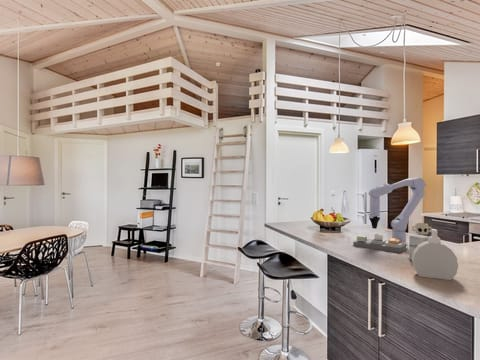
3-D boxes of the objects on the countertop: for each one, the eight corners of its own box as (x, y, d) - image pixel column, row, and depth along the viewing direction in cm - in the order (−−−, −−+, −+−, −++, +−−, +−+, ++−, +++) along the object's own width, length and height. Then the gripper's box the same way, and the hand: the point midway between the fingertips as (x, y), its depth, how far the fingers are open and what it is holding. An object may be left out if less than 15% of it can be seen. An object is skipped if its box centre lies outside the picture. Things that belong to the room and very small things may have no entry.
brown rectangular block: (393, 242, 180) (393, 237, 180) (402, 244, 177) (402, 239, 177) (388, 245, 173) (388, 240, 173) (397, 246, 170) (397, 241, 170)
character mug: (412, 244, 190) (413, 223, 190) (410, 242, 197) (411, 222, 197) (432, 245, 186) (433, 224, 186) (430, 243, 193) (430, 223, 193)
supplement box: (408, 259, 154) (408, 235, 154) (417, 257, 157) (418, 233, 157) (422, 263, 147) (422, 237, 147) (431, 261, 150) (432, 236, 150)
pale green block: (358, 239, 187) (358, 235, 187) (366, 240, 184) (366, 236, 184) (356, 240, 185) (356, 236, 185) (365, 241, 182) (365, 237, 182)
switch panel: (361, 242, 195) (361, 235, 195) (405, 248, 178) (405, 241, 178) (353, 245, 185) (353, 238, 185) (399, 252, 167) (399, 245, 167)
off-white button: (376, 238, 184) (376, 233, 184) (383, 239, 181) (383, 234, 181) (373, 239, 180) (373, 234, 180) (381, 240, 177) (381, 235, 177)
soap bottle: (454, 277, 126) (455, 230, 126) (458, 281, 121) (458, 232, 121) (411, 272, 132) (411, 227, 132) (413, 275, 127) (413, 229, 127)
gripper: (372, 205, 198) (371, 226, 198) (364, 207, 187) (363, 229, 187) (383, 206, 193) (383, 227, 193) (375, 208, 182) (375, 230, 182)
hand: (374, 228), depth 190 cm, fingers closed
